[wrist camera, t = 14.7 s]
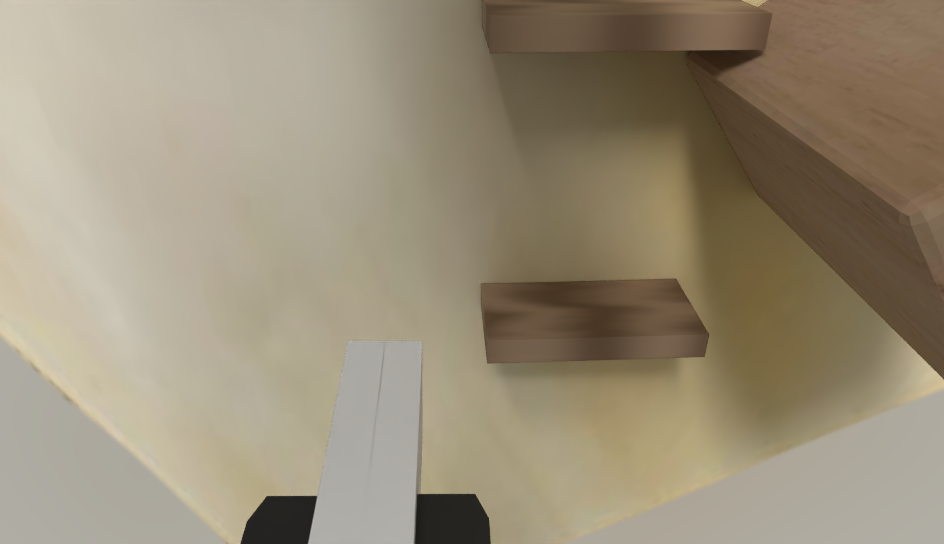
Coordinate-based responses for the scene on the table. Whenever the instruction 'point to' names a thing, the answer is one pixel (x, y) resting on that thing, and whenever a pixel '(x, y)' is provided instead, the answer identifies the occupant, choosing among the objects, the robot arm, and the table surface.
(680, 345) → the parallel wooden walls
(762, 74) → the wooden block
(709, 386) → the table surface
